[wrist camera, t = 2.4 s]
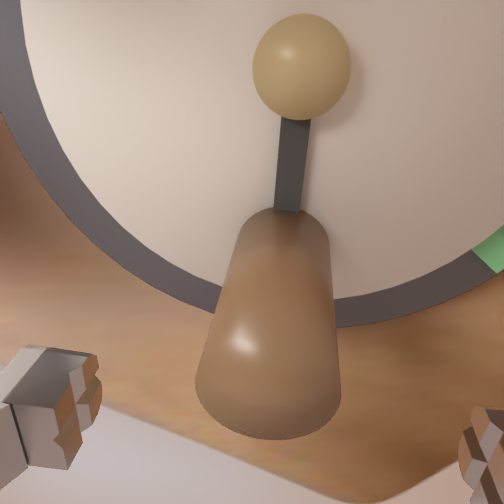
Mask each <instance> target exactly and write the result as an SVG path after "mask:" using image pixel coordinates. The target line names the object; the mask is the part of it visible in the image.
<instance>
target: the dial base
mask: <svg viewBox="0 0 504 504" xmlns="http://www.w3.org/2000/svg"><path fill="white" fill-rule="evenodd" d="M0 111H1V113H2V116H3V118H4V121H5V123H6V125H7V126H8V128H9V130H10V132H11V134H12V136H13V138H14V140H15V142H16V143H17V145H18V147H19V149H20V151H21V153H22V155H23V157H24V158H25V160H26V161H27V163H28V164H29V166H30V167H31V169H32V170H33V172H34V173H35V175H36V176H37V178H38V179H39V181H40V182H41V184H42V185H43V187H44V188H45V190H46V191H47V193H48V194H49V195H50V196H51V197H52V199H53V200H54V201H55V202H56V203H57V205H58V206H59V207H60V208H61V210H62V211H63V212H64V213H65V214H66V216H67V217H68V218H69V219H70V220H71V221H72V222H73V223H74V224H75V225H76V226H77V227H78V228H79V229H80V230H81V231H82V232H83V233H84V234H85V235H86V236H87V237H88V238H89V239H90V240H91V241H92V242H93V243H94V244H95V245H96V246H97V247H98V248H100V249H101V250H102V251H103V252H105V253H106V254H107V255H108V256H109V257H111V258H112V259H113V260H114V261H116V262H117V263H118V264H119V265H121V266H122V267H123V268H125V269H126V270H128V271H129V272H131V273H132V274H134V275H135V276H137V277H139V278H140V279H142V280H143V281H145V282H146V283H148V284H149V285H151V286H153V287H154V288H156V289H158V290H160V291H162V292H164V293H166V294H168V295H170V296H172V297H174V298H176V299H178V300H180V301H182V302H185V303H187V304H190V305H192V306H195V307H197V308H200V309H203V310H205V311H208V312H210V313H213V314H214V313H215V310H216V307H217V303H218V300H219V297H220V293H221V290H222V286H219V285H217V284H214V283H212V282H209V281H207V280H204V279H202V278H199V277H197V276H194V275H193V274H191V273H189V272H187V271H185V270H183V269H181V268H179V267H177V266H175V265H174V264H172V263H170V262H168V261H167V260H165V259H164V258H162V257H161V256H159V255H158V254H156V253H155V252H153V251H152V250H150V249H149V248H147V247H146V246H145V245H144V244H142V243H141V242H140V241H139V240H138V239H136V238H135V237H134V236H133V235H132V234H130V233H129V232H128V231H127V230H126V229H124V228H123V227H122V226H121V225H120V224H119V223H118V222H117V221H116V220H115V219H114V218H113V217H112V216H111V215H110V213H109V212H108V211H107V210H106V209H105V208H104V207H103V206H102V205H101V204H100V203H99V202H98V200H97V199H96V198H95V196H94V195H93V194H92V193H91V191H90V190H89V189H88V187H87V186H86V185H85V184H84V182H83V181H82V180H81V178H80V177H79V175H78V173H77V172H76V170H75V169H74V167H73V165H72V164H71V162H70V161H69V159H68V157H67V156H66V154H65V153H64V151H63V149H62V147H61V145H60V143H59V141H58V139H57V137H56V135H55V133H54V131H53V128H52V126H51V124H50V122H49V120H48V118H47V115H46V112H45V110H44V107H43V104H42V101H41V99H40V96H39V93H38V90H37V87H36V85H35V81H34V77H33V73H32V69H31V65H30V60H29V56H28V52H27V48H26V43H25V35H24V28H23V20H22V12H21V4H20V0H0ZM502 271H504V225H503V226H501V227H500V228H499V229H498V230H496V231H495V232H494V233H493V234H491V235H490V236H489V237H488V238H486V239H485V240H484V241H483V242H481V243H480V244H478V245H477V246H475V247H474V248H472V249H470V250H469V251H467V252H466V253H464V254H463V255H461V256H459V257H458V258H456V259H455V260H453V261H452V262H450V263H448V264H446V265H444V266H442V267H440V268H438V269H436V270H434V271H432V272H430V273H428V274H426V275H424V276H421V277H419V278H416V279H413V280H411V281H408V282H405V283H403V284H400V285H397V286H395V287H391V288H388V289H384V290H380V291H376V292H372V293H369V294H365V295H359V296H352V297H346V298H339V299H334V310H335V322H336V328H343V327H350V326H358V325H365V324H372V323H377V322H381V321H385V320H389V319H393V318H398V317H402V316H406V315H409V314H412V313H415V312H418V311H421V310H424V309H426V308H429V307H432V306H435V305H438V304H441V303H443V302H445V301H447V300H450V299H452V298H454V297H456V296H458V295H460V294H462V293H465V292H467V291H469V290H471V289H473V288H475V287H477V286H479V285H481V284H482V283H484V282H486V281H487V280H489V279H491V278H492V277H494V276H496V275H497V274H499V273H501V272H502Z"/></svg>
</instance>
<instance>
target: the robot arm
mask: <svg viewBox="0 0 504 504" xmlns="http://www.w3.org/2000/svg"><path fill="white" fill-rule="evenodd" d="M98 368H99V365H98V360H97V356H95V355H93V354H89V353H83V352H77V351H70V350H64V349H58V348H48V347H42V346H36V345H30V344H29V345H27V346H25V347H23V348H22V349H21V350H20V351H19V352H18V353H17V354H16V356H15V357H14V358H13V359H12V360H11V361H10V362H9V364H8V365H7V366H6V367H5V368H4V369H3V370H2V372H1V373H0V490H1V489H2V488H3V487H4V486H6V485H7V484H8V483H9V482H11V481H12V480H13V479H15V478H16V477H17V476H18V475H20V474H21V473H22V472H23V471H25V470H26V469H27V468H28V465H30V466H38V467H46V468H55V469H62V470H68V469H69V467H70V465H71V463H72V461H73V459H74V458H75V456H76V454H77V452H78V450H79V448H80V447H81V445H82V443H83V442H82V436H81V432H82V431H84V430H85V429H87V428H88V427H90V426H91V425H92V424H93V422H94V420H95V418H96V416H97V414H98V411H99V408H100V404H101V401H102V385H101V382H100V380H99V379H98V378H97V377H96V376H95V373H96V371H97V370H98ZM469 418H470V421H471V423H472V427H470V428H469V429H467V430H465V431H464V432H463V433H462V436H461V438H460V441H459V446H458V461H459V467H460V470H461V474H462V477H463V479H464V480H465V481H466V483H468V485H469V486H470V487H471V488H472V489H473V490H474V492H473V495H472V497H471V499H470V502H471V504H504V408H501V407H493V406H485V405H477V406H476V407H475V408H473V410H472V412H471V414H470V417H469Z"/></svg>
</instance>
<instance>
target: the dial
mask: <svg viewBox="0 0 504 504" xmlns="http://www.w3.org/2000/svg"><path fill="white" fill-rule="evenodd" d="M20 4H21V12H22V20H23V28H24V35H25V43H26V48H27V52H28V56H29V60H30V65H31V69H32V73H33V77H34V81H35V85H36V87H37V90H38V93H39V96H40V99H41V101H42V104H43V107H44V110H45V112H46V115H47V118H48V120H49V122H50V124H51V126H52V128H53V131H54V133H55V135H56V137H57V139H58V141H59V143H60V145H61V147H62V149H63V151H64V153H65V154H66V156H67V157H68V159H69V161H70V162H71V164H72V165H73V167H74V169H75V170H76V172H77V173H78V175H79V177H80V178H81V180H82V181H83V182H84V184H85V185H86V186H87V187H88V189H89V190H90V191H91V193H92V194H93V195H94V196H95V198H96V199H97V200H98V202H99V203H100V204H101V205H102V206H103V207H104V208H105V209H106V210H107V211H108V212H109V213H110V215H111V216H112V217H113V218H114V219H115V220H116V221H117V222H118V223H119V224H120V225H121V226H122V227H123V228H124V229H126V230H127V231H128V232H129V233H130V234H132V235H133V236H134V237H135V238H136V239H138V240H139V241H140V242H141V243H142V244H144V245H145V246H146V247H147V248H149V249H150V250H152V251H153V252H155V253H156V254H158V255H159V256H161V257H162V258H164V259H165V260H167V261H168V262H170V263H172V264H174V265H175V266H177V267H179V268H181V269H183V270H185V271H187V272H189V273H191V274H193V275H194V276H197V277H199V278H202V279H204V280H207V281H209V282H212V283H214V284H217V285H219V286H222V290H221V293H220V297H219V300H218V303H217V307H216V310H215V313H214V317H213V320H212V323H211V326H210V330H209V333H208V336H207V340H206V343H205V346H204V350H203V353H202V356H201V360H200V363H199V366H198V369H197V373H196V378H195V386H196V392H197V396H198V398H199V400H200V402H201V404H202V405H203V407H204V409H205V410H206V411H207V412H208V413H209V414H210V415H211V416H212V417H213V418H214V419H215V420H216V421H218V422H219V423H220V424H222V425H223V426H225V427H227V428H228V429H230V430H233V431H235V432H237V433H240V434H242V435H245V436H249V437H253V438H258V439H265V440H287V439H293V438H298V437H302V436H305V435H308V434H310V433H312V432H314V431H316V430H318V429H320V428H321V427H322V426H324V425H325V424H326V423H327V422H328V421H330V420H331V418H332V417H333V416H334V414H335V413H336V411H337V409H338V407H339V404H340V399H341V385H340V373H339V360H338V348H337V335H336V322H335V310H334V299H339V298H346V297H352V296H359V295H365V294H369V293H372V292H376V291H380V290H384V289H388V288H391V287H395V286H397V285H400V284H403V283H405V282H408V281H411V280H413V279H416V278H419V277H421V276H424V275H426V274H428V273H430V272H432V271H434V270H436V269H438V268H440V267H442V266H444V265H446V264H448V263H450V262H452V261H453V260H455V259H456V258H458V257H459V256H461V255H463V254H464V253H466V252H467V251H469V250H470V249H472V248H474V247H475V246H477V245H478V244H480V243H481V242H483V241H484V240H485V239H486V238H488V237H489V236H490V235H491V234H493V233H494V232H495V231H496V230H498V229H499V228H500V227H501V226H503V225H504V0H20Z"/></svg>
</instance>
